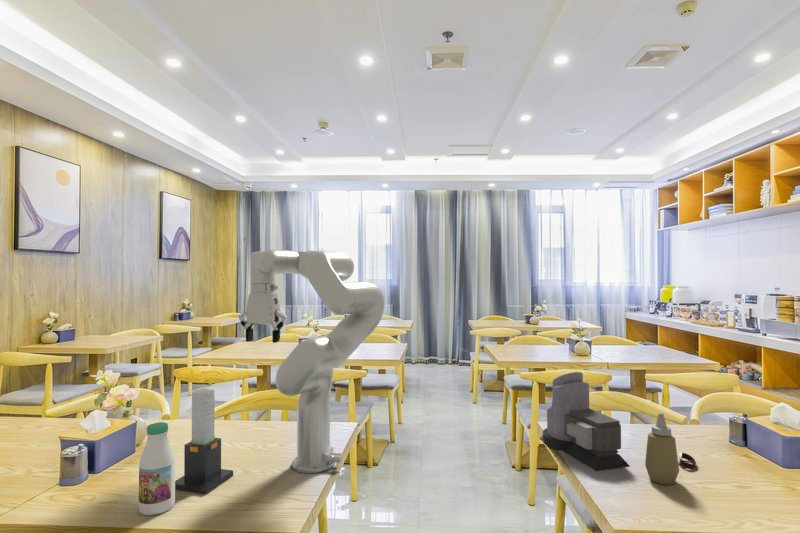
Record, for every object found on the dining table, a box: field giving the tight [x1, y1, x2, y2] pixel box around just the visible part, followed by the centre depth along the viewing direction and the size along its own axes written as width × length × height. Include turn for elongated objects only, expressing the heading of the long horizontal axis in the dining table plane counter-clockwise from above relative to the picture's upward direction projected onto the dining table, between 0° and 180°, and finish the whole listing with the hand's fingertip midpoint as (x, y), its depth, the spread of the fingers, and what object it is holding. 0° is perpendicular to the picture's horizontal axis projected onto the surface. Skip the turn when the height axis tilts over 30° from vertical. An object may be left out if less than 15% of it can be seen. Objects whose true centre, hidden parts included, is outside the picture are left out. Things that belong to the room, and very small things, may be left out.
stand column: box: [190, 388, 216, 446], centre depth 123 cm, size 4×4×17 cm
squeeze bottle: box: [644, 412, 680, 486], centre depth 122 cm, size 8×8×18 cm
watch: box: [677, 451, 697, 470], centre depth 132 cm, size 8×5×4 cm, turn 150°
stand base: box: [175, 437, 234, 495], centre depth 122 cm, size 11×11×11 cm
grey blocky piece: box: [538, 371, 631, 472], centre depth 144 cm, size 30×16×24 cm, turn 16°
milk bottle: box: [138, 421, 176, 516], centre depth 109 cm, size 8×8×20 cm
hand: (262, 341), depth 147 cm, fingers open, 9 cm apart
